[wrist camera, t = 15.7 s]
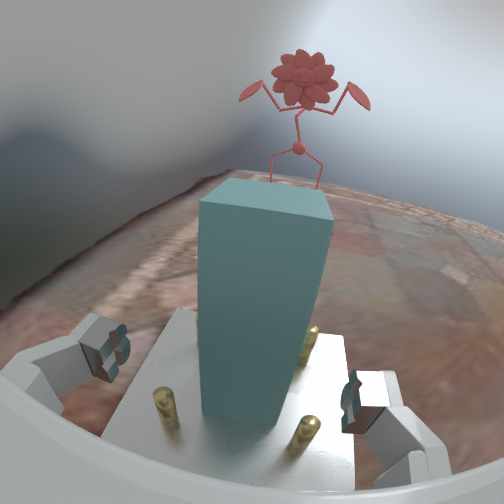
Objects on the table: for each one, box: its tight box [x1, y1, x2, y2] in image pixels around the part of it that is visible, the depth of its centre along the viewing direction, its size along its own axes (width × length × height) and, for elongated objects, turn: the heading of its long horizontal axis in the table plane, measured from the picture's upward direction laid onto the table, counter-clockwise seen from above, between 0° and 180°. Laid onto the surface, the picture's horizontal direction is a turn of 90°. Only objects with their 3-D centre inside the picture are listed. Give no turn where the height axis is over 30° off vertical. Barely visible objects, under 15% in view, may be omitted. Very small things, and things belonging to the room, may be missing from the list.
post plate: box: [100, 308, 355, 491], centre depth 18 cm, size 16×16×5 cm
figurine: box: [239, 49, 370, 235], centre depth 49 cm, size 15×26×35 cm, turn 75°
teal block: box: [198, 178, 334, 426], centre depth 15 cm, size 5×5×14 cm
